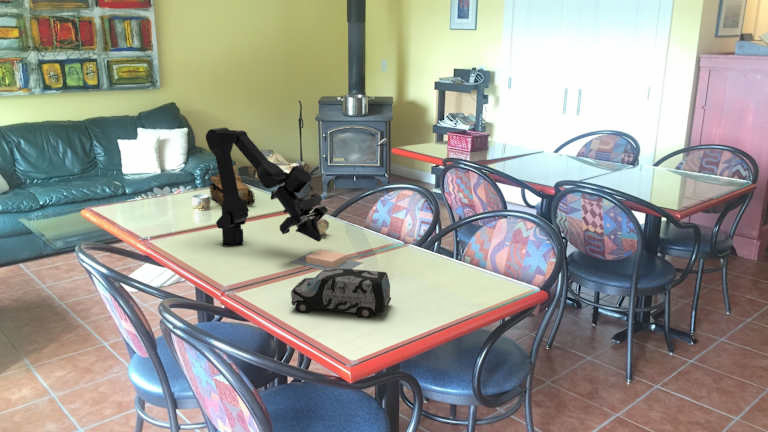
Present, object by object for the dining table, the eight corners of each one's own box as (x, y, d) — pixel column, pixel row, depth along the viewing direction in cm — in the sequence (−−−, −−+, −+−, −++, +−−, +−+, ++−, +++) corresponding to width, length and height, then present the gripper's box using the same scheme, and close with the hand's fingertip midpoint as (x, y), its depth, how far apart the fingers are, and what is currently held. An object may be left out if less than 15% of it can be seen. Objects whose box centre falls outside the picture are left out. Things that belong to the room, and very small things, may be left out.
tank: (226, 211, 261) (224, 175, 257) (209, 197, 284) (207, 164, 280) (256, 208, 267) (254, 172, 263) (237, 194, 290) (235, 162, 286)
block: (305, 256, 197) (332, 261, 192) (321, 249, 204) (346, 254, 199) (305, 263, 198) (332, 269, 193) (321, 256, 204) (347, 261, 200)
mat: (288, 263, 199) (288, 262, 199) (311, 253, 209) (311, 252, 209) (341, 275, 189) (341, 274, 189) (363, 263, 199) (363, 262, 199)
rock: (325, 224, 221) (334, 213, 230) (294, 222, 223) (304, 211, 232) (326, 242, 224) (335, 230, 232) (296, 240, 226) (306, 228, 235)
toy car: (302, 297, 173) (301, 262, 170) (392, 304, 168) (392, 269, 165) (289, 312, 163) (288, 275, 160) (384, 321, 158) (384, 283, 155)
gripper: (285, 191, 189) (316, 233, 186) (322, 181, 204) (351, 218, 202) (266, 213, 195) (296, 254, 192) (303, 201, 210) (331, 238, 207)
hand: (320, 240), depth 198 cm, fingers closed
